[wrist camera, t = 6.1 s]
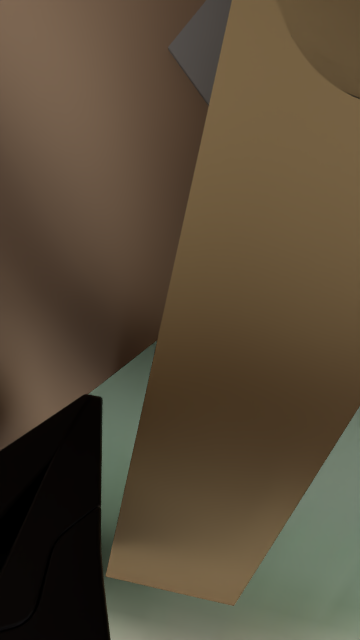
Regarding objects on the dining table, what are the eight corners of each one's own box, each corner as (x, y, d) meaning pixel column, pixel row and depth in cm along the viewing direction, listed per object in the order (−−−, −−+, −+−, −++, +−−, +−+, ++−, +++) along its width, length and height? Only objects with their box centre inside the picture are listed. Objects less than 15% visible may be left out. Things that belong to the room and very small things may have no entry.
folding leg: (268, -112, 4) (384, -687, 2) (466, -60, 4) (945, -525, 2) (135, 463, 10) (105, 576, 7) (226, 484, 10) (233, 605, 7)
